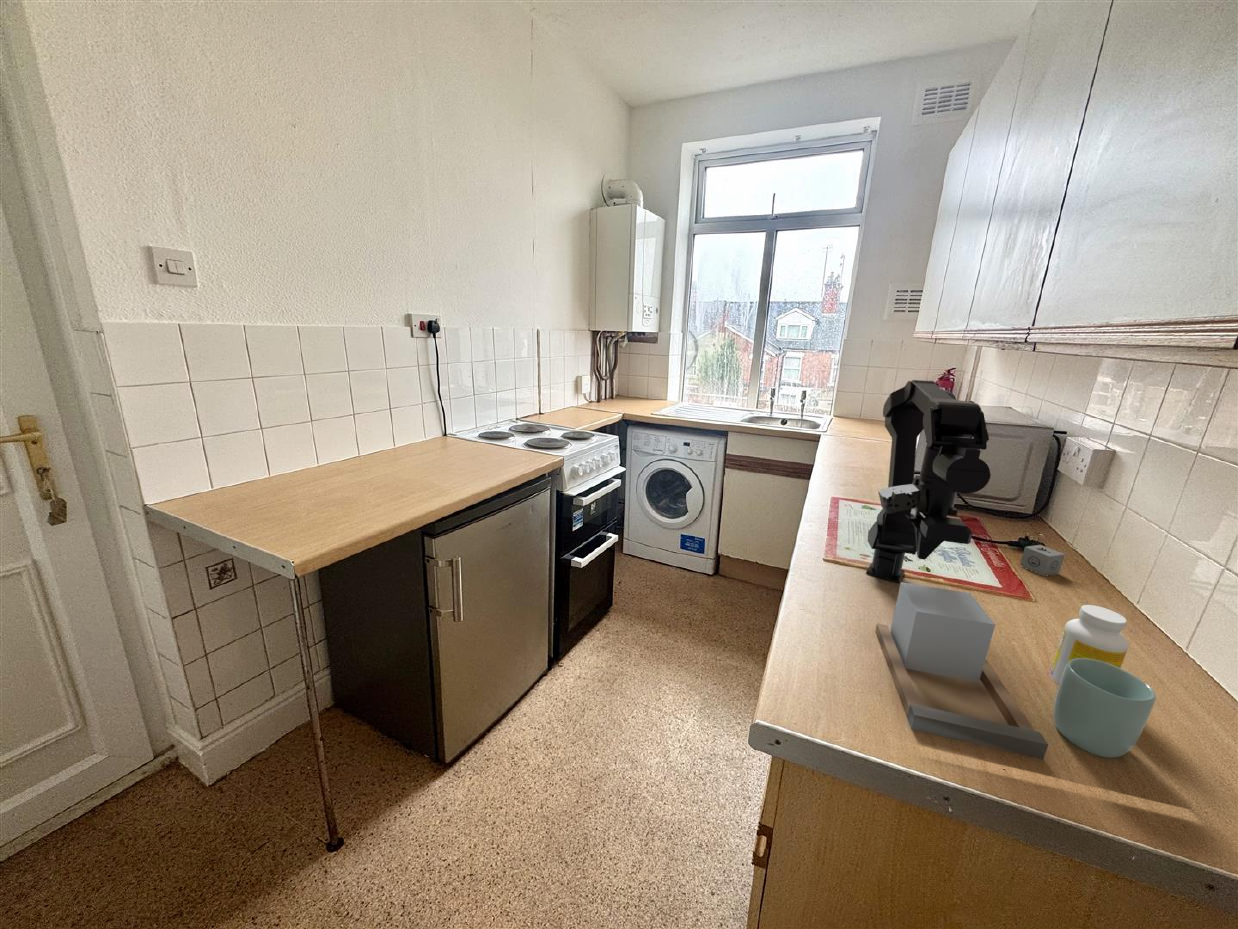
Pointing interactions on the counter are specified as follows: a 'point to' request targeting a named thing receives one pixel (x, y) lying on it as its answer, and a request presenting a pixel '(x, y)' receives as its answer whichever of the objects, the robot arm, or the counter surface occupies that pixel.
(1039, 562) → the dice cube
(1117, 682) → the cup
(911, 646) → the block
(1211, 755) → the counter surface
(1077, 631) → the supplement bottle
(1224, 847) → the counter surface
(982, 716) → the chute
